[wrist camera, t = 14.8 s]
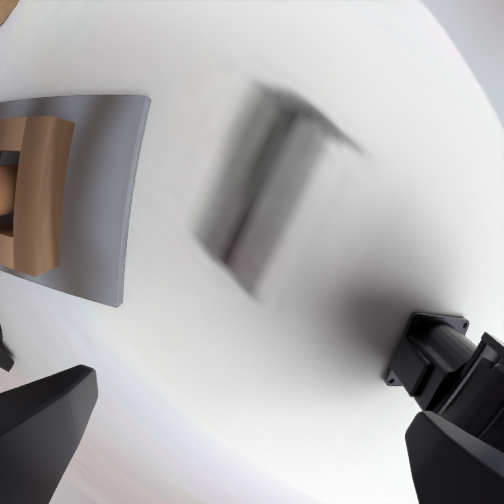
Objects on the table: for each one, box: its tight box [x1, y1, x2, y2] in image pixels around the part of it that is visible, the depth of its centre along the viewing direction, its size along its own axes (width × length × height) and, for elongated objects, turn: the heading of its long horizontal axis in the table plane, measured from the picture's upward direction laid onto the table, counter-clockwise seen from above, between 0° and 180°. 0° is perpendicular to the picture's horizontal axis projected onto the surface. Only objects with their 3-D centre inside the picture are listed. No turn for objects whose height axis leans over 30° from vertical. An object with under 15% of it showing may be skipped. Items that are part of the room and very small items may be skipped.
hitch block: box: [0, 95, 151, 308], centre depth 16 cm, size 20×14×4 cm
